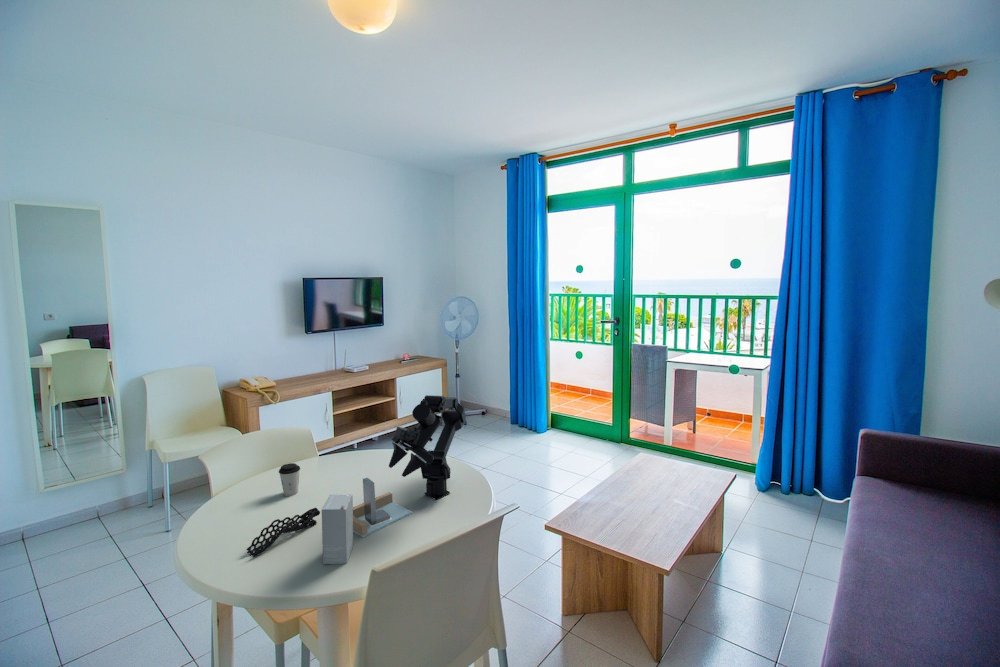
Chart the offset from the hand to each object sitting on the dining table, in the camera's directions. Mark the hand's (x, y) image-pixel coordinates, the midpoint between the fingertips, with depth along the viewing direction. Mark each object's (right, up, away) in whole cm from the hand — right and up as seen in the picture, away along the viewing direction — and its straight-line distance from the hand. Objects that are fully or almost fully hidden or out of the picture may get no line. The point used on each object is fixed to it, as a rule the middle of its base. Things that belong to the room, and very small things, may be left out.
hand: (396, 471), depth 147 cm
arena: (-5, -14, -2) cm, 15 cm away
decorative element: (-29, -16, -12) cm, 35 cm away
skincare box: (-10, -17, -22) cm, 29 cm away
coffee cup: (-41, -13, +17) cm, 46 cm away
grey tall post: (-5, -13, -4) cm, 15 cm away
